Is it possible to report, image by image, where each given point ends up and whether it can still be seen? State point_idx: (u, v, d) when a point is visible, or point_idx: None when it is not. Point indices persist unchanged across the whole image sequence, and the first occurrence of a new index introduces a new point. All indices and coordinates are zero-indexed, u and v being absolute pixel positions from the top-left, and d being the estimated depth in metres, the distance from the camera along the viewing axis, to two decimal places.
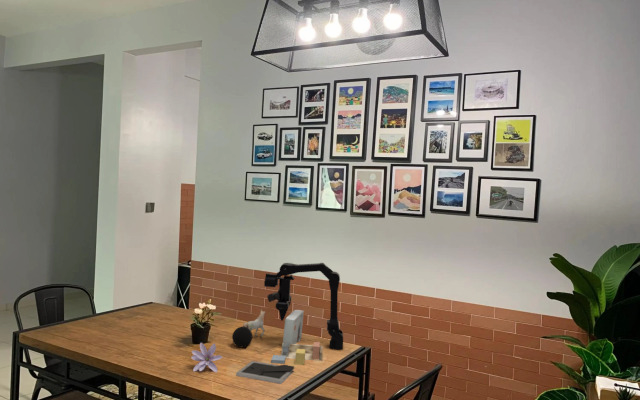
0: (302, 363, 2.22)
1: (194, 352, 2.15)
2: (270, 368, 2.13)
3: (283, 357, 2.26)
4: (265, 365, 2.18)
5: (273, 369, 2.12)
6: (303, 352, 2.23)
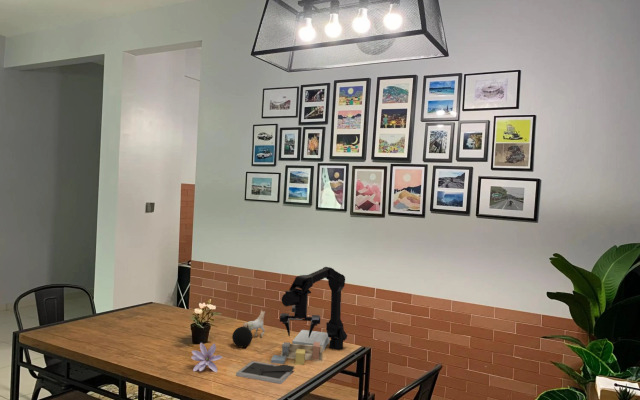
0: (302, 363, 2.22)
1: (194, 352, 2.15)
2: (270, 368, 2.13)
3: (283, 357, 2.25)
4: (265, 365, 2.18)
5: (273, 369, 2.12)
6: (303, 352, 2.23)
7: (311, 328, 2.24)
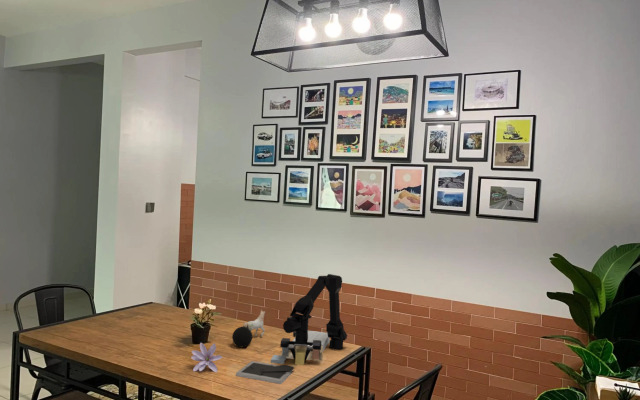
0: (302, 363, 2.22)
1: (194, 352, 2.15)
2: (270, 368, 2.13)
3: (283, 357, 2.25)
4: (265, 365, 2.18)
5: (273, 369, 2.12)
6: (303, 352, 2.23)
7: (306, 353, 2.22)
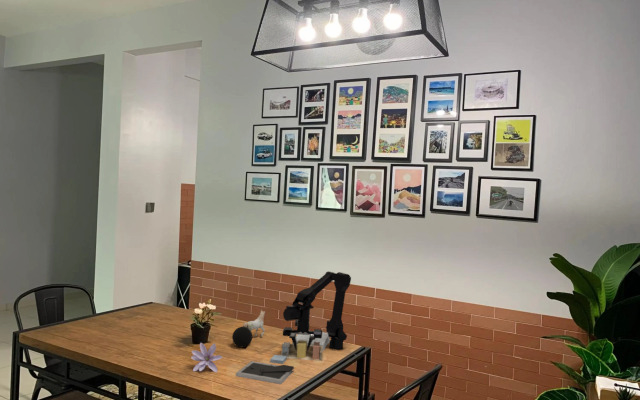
0: (303, 354, 2.31)
1: (194, 352, 2.15)
2: (270, 368, 2.13)
3: (283, 357, 2.25)
4: (264, 365, 2.17)
5: (273, 369, 2.12)
6: (305, 343, 2.32)
7: (309, 342, 2.31)
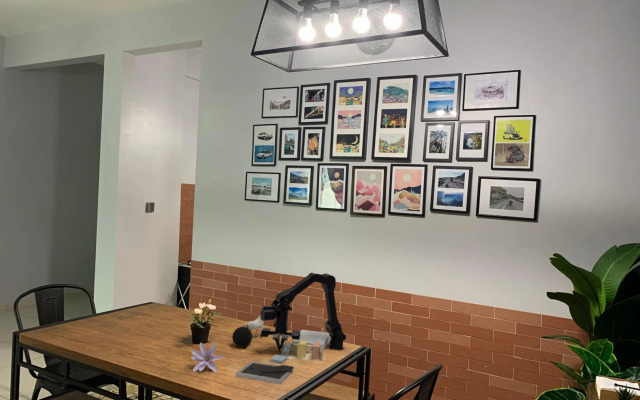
0: (303, 354, 2.31)
1: (194, 352, 2.15)
2: (269, 368, 2.13)
3: (283, 357, 2.25)
4: (264, 365, 2.17)
5: (273, 370, 2.12)
6: (305, 343, 2.32)
7: (281, 343, 2.32)
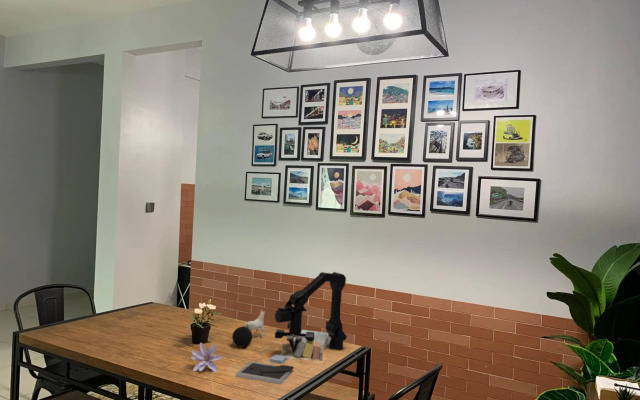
0: (309, 354, 2.30)
1: (194, 352, 2.15)
2: (269, 368, 2.13)
3: (283, 357, 2.25)
4: (264, 365, 2.17)
5: (273, 370, 2.12)
6: (313, 344, 2.32)
7: (295, 344, 2.31)
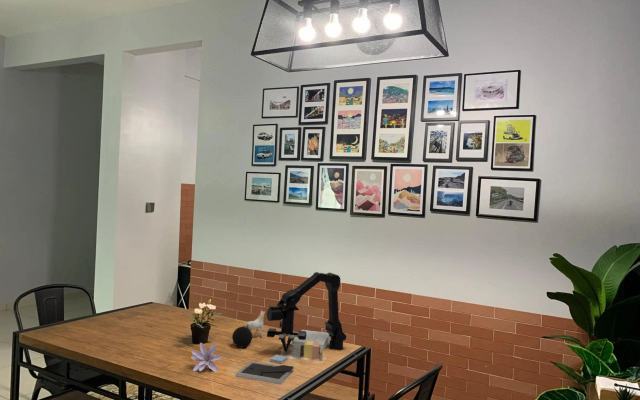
0: (310, 354, 2.30)
1: (194, 352, 2.15)
2: (269, 368, 2.13)
3: (283, 358, 2.25)
4: (264, 365, 2.17)
5: (273, 370, 2.12)
6: (311, 344, 2.32)
7: (288, 343, 2.31)
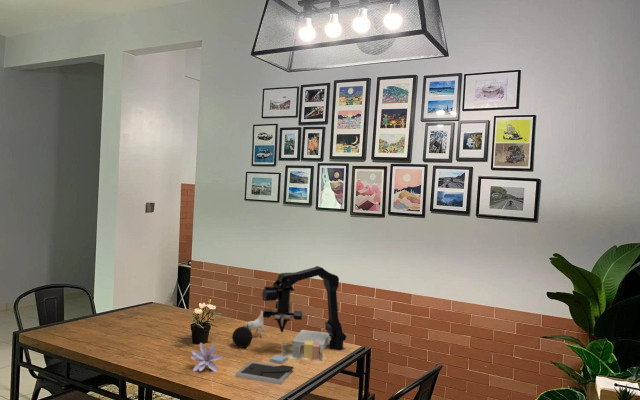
0: (310, 354, 2.30)
1: (194, 352, 2.15)
2: (269, 368, 2.13)
3: (283, 358, 2.25)
4: (264, 365, 2.17)
5: (272, 370, 2.11)
6: (311, 344, 2.32)
7: (284, 323, 2.31)
